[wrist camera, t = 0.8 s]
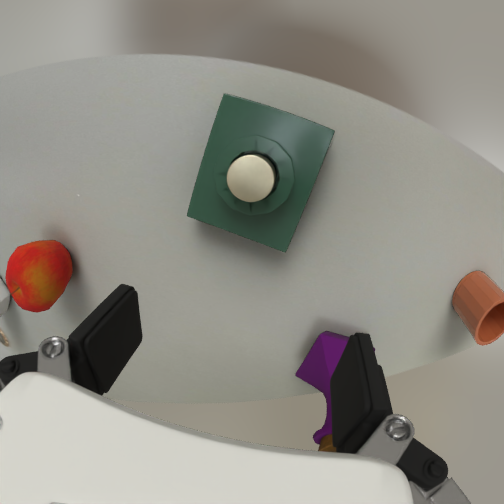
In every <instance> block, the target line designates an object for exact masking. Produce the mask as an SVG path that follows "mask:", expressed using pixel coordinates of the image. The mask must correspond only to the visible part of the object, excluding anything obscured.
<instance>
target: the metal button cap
mask: <svg viewBox="0 0 504 504" xmlns="http://www.w3.org/2000/svg"><path fill="white" fill-rule="evenodd" d="M275 180H276V171H275V168H274V166H273V164H272V163H271V161H270V160H269V159H267V158H266V157H264V156H262V155H259V154H248V155H245V156H242V157H240V158H238V159H236V160H235V161H234V162H233V163H232V164H231V166H230V167H229V169H228V173H227V184H228V187H229V189H230V191H231V192H232V193H233V194H234V195H235V196H236V197H237V198H239V199H240V200H243V201H246V202H256V201H259V200H262V199H263V198H265V197H266V196H267V195H268V194H269V193H270V192H271V190H272V188H273V186H274V184H275Z"/></svg>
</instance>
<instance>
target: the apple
mask: <svg viewBox="0 0 504 504" xmlns="http://www.w3.org/2000/svg"><path fill="white" fill-rule="evenodd" d="M71 275H72V260H71V256H70V253H69V252H68V250H67V249H66V248H65V247H64V246H63V245H62V244H61V243H60V242H57V241H55V240H46V241H35V242H31V243H28V244H25V245H22V246H19V247H17V249H16V250H15V251H14V252H13V254H12V255H11V257H10V258H9V261H8V264H7V270H6V284H7V287H8V289H9V291H10V293H11V294H10V295H12V297H13V299H14V300H15V302H16V303H17V304H18V306H20V307H21V308H22V309H24V310H28V311H31V312H41V311H45V310H49V309H50V307H51V306H52V305H53V304H54V303H55V302H56V301H57V300H58V298H59V297H60V296H61V295H62V294H63V292H64V290H65V288H66V286H67V284H68V282H69V280H70V278H71Z"/></svg>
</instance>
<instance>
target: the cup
mask: <svg viewBox="0 0 504 504" xmlns="http://www.w3.org/2000/svg"><path fill="white" fill-rule="evenodd" d="M452 305H453V308H454V310H455V311H456V313H457V314H458V316H459V317H460V319H461V320H462V322H463V323H464V325H465V326H466V327H467V329H468V330H469V332H470V333H471V335H472V336H473V338H474V340H475V341H476V343H477V344H479V345H487V344H490V343H492V342H494V341H495V340H497V339H498V338H499V337H500V336H501V335H502V334H503V333H504V291H503V290H502V289H501V288H500V287H499V286H498V285H497V284H496V283H495V282H494V281H493V280H492V279H491V278H490V277H489V276H488V275H486V274H485V273H484V272H482V271H474V272H471V273H469V274H468V275H466V276H465V277H464V278H463V279H462V280H461V281H460V282H459V284H458V285H457V287H456V289H455V291H454V294H453V299H452Z"/></svg>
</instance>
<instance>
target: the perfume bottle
mask: <svg viewBox="0 0 504 504" xmlns="http://www.w3.org/2000/svg"><path fill="white" fill-rule="evenodd" d="M349 338H350V337H346V336H343V335H339V334H336V333H332V332H329V331H325V332H323V333H321V334H320V335H319V336H318V338H317V340H316V341H315V343H314V345H313V346H312V348H311V350H310V351H309V353H308V355H307V356H306V358H305V359H304V361H303V363H302V364H301V366H300V367H299V369H298V370H297V372H296V374H295V375H296V376H297V377H298V378H300V379H302V380H303V381H305V382H307V383H309V384H310V385H312V386H314V387H315V388H316V389H318V390H319V391H321V392H322V393H323V394H324V396H325V398H326V403H327V417H326V420H325V424H324V425H323V427H322V429H320V430H318V431H316V432H315V434H314V435H313V439H314V441H315V443H317V444H319V445H320V446H319V450H318V451H323V452H336V447H333V444H332V414H331V394H330V379H331V376H332V374H333V372H334V370H335V368H336V366H337V364H338V362H339V360H340V358H341V356H342V353H343V351H344V349H345V347H346V345H347V342H348V340H349ZM373 349H374V352H375V348H374V347H373Z"/></svg>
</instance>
